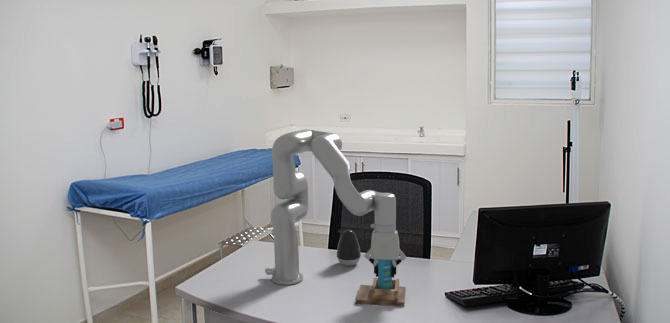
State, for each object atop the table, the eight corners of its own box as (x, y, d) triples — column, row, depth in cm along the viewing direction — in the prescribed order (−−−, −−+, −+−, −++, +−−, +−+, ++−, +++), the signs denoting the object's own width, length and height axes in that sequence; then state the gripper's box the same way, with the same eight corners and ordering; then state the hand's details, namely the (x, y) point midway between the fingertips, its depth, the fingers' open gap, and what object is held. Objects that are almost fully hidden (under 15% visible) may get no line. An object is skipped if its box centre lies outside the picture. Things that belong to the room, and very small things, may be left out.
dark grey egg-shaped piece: (345, 258, 245) (344, 225, 242) (365, 262, 239) (364, 228, 236) (331, 265, 237) (331, 230, 234) (352, 270, 231) (351, 234, 228)
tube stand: (356, 303, 198) (356, 290, 197) (360, 288, 211) (360, 276, 210) (404, 306, 195) (404, 292, 194) (405, 290, 208) (405, 277, 208)
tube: (381, 295, 198) (381, 243, 195) (372, 290, 202) (373, 240, 199) (397, 290, 203) (397, 240, 199) (388, 286, 206) (389, 236, 203)
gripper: (360, 230, 196) (360, 278, 199) (409, 231, 193) (408, 280, 196) (362, 224, 203) (362, 271, 206) (409, 225, 201) (409, 273, 204)
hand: (385, 275), depth 201 cm, fingers closed on tube, 5 cm apart
